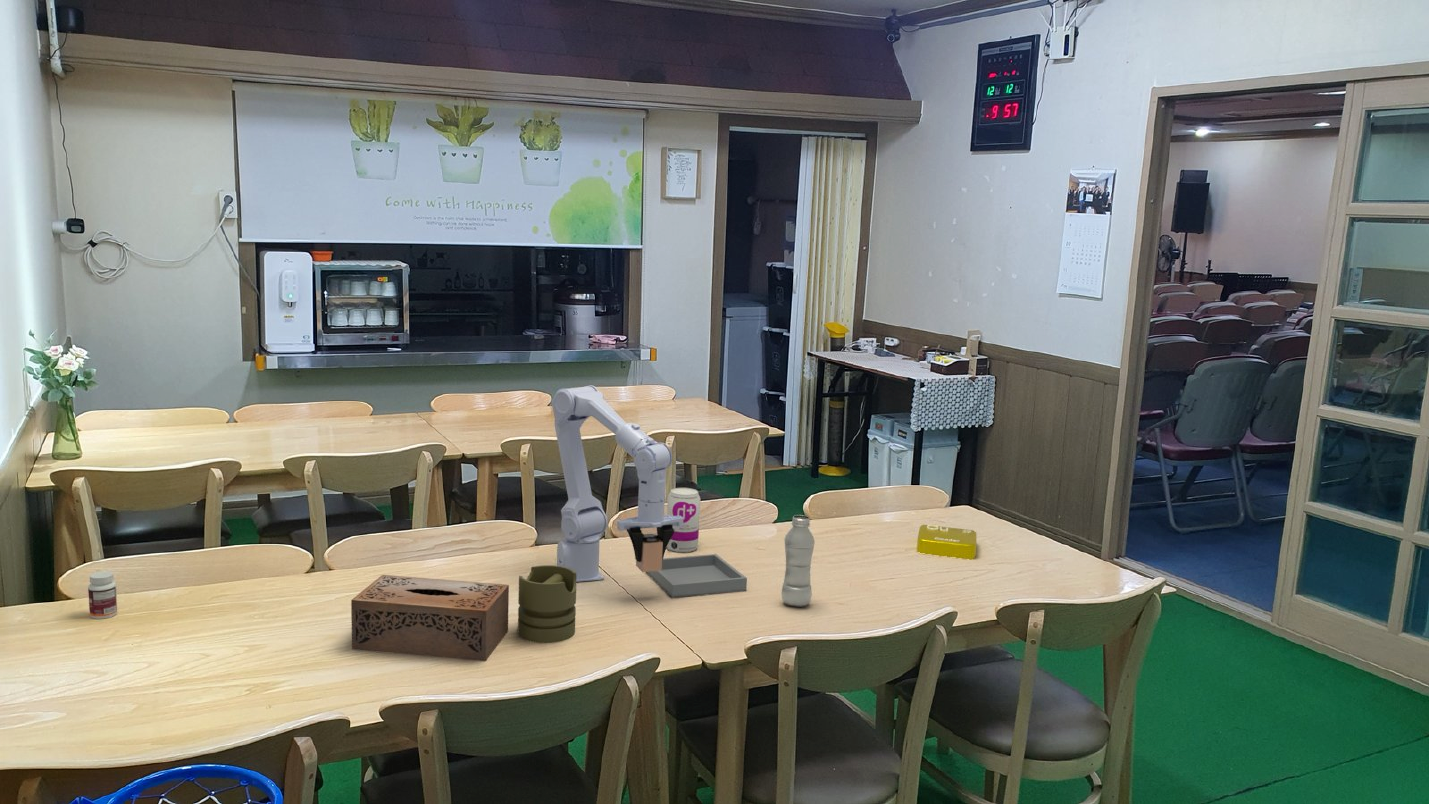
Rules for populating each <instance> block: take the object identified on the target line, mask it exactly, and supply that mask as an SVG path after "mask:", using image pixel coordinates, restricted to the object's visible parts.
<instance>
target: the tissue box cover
mask: <svg viewBox="0 0 1429 804" xmlns="http://www.w3.org/2000/svg"><path fill="white" fill-rule="evenodd" d="M509 591H510V585H509V584H502V583H490V582H481V581H479V582H478V581H465V580H452V579H441V578H429V577H428V578H427V577H417V576H416V577H414V576H403V575H401V576H400V575H389V574H381V576H379V577H378V578H377V579H375V580H374V581H373V582H371V584H369V585H368V586H366V588H364V589H363V590H361V591H360V592H359V593H358V594H357V595H356V596H354V597H353V598H352V599H351V601H350V602H351V604H350V606H351V607H350V608H351V650H352V651H353V650H355V651H367V652H377V653H390V654H402V655H414V656H423V657H434V658H435V657H437V658H447V659H457V660H458V659H460V660H472V661H481V662H483V661H484V662H487V660H489V658H490V657H491V654H493V653H494V651H495V650H496V648H497V647H498V646H499V644H500V643H501V641H503V639H504V637H505V636H506V635H507V634H508V632H509V605H510V604H509V602H510V601H509V600H510V599H509V593H510V592H509Z"/></svg>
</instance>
